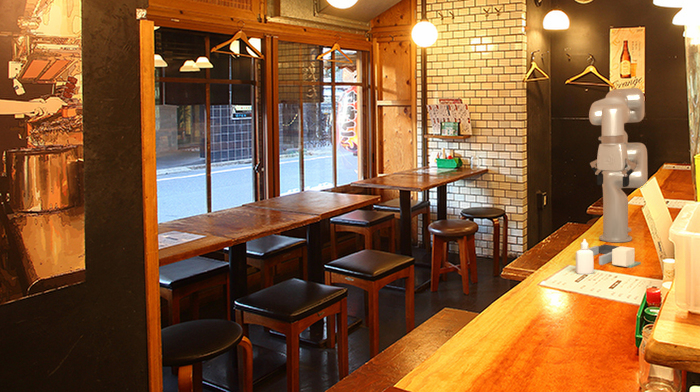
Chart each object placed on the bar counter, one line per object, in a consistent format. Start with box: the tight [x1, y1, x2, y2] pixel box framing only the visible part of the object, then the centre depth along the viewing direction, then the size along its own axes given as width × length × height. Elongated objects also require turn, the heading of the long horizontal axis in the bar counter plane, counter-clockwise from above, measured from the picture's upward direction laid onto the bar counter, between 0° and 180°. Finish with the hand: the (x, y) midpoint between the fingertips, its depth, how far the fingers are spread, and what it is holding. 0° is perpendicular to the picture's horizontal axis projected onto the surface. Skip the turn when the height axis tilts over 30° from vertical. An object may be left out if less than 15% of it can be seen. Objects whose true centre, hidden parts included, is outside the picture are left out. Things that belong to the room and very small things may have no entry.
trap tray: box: [598, 243, 620, 255], centre depth 229 cm, size 5×10×2 cm, turn 38°
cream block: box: [611, 245, 636, 268], centre depth 212 cm, size 6×5×6 cm
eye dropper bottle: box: [575, 238, 595, 275], centre depth 205 cm, size 4×6×12 cm
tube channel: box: [588, 245, 612, 266], centre depth 222 cm, size 14×10×3 cm
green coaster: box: [611, 260, 642, 269], centre depth 213 cm, size 7×7×1 cm
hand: (612, 185), depth 222 cm, fingers open, 9 cm apart
